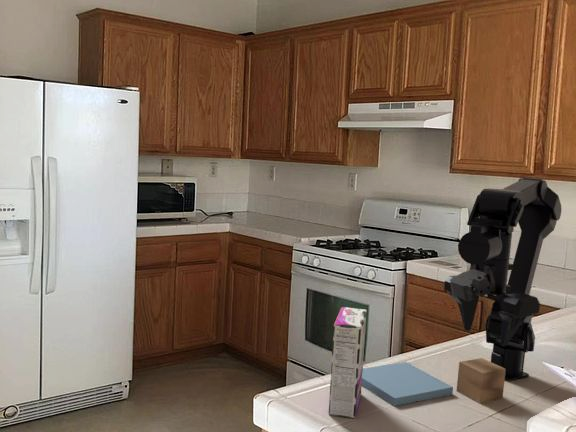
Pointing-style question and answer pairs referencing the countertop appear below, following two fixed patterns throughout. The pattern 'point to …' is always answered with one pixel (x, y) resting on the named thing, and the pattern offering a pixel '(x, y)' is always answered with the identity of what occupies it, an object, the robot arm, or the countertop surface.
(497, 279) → the robot arm
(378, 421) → the countertop surface
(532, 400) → the countertop surface
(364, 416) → the countertop surface
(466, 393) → the walnut cube
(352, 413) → the candy bar box
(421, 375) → the slate board
